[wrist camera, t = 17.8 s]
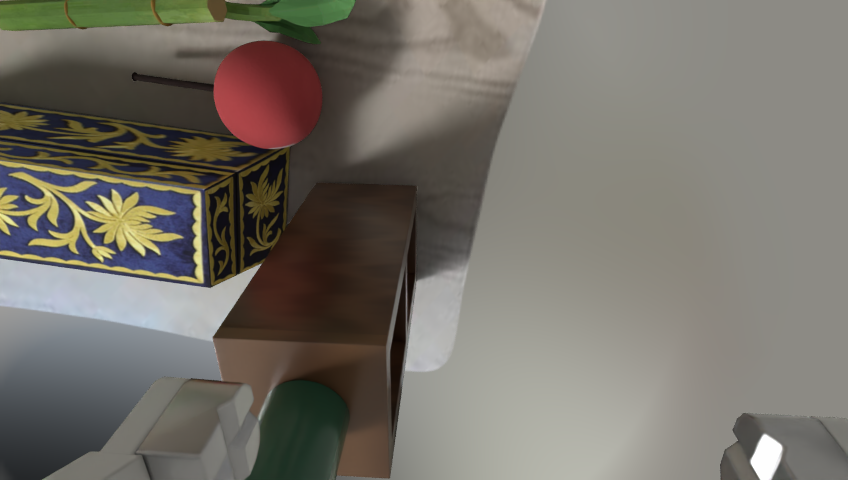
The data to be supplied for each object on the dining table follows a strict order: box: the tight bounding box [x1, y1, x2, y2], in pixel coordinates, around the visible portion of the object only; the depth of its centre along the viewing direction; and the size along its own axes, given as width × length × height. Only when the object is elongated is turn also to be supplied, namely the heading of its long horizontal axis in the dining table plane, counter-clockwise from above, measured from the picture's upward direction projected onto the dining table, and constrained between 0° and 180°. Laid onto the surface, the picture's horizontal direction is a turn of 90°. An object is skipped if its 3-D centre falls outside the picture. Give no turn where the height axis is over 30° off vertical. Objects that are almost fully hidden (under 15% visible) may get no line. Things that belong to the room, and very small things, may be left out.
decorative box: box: [0, 103, 290, 288], centre depth 43 cm, size 11×30×9 cm, turn 83°
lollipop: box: [132, 41, 322, 149], centre depth 39 cm, size 8×8×15 cm
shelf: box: [213, 182, 417, 478], centre depth 38 cm, size 9×10×22 cm
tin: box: [244, 380, 350, 480], centre depth 26 cm, size 5×5×7 cm
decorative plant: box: [0, 0, 356, 44], centre depth 38 cm, size 6×8×30 cm
